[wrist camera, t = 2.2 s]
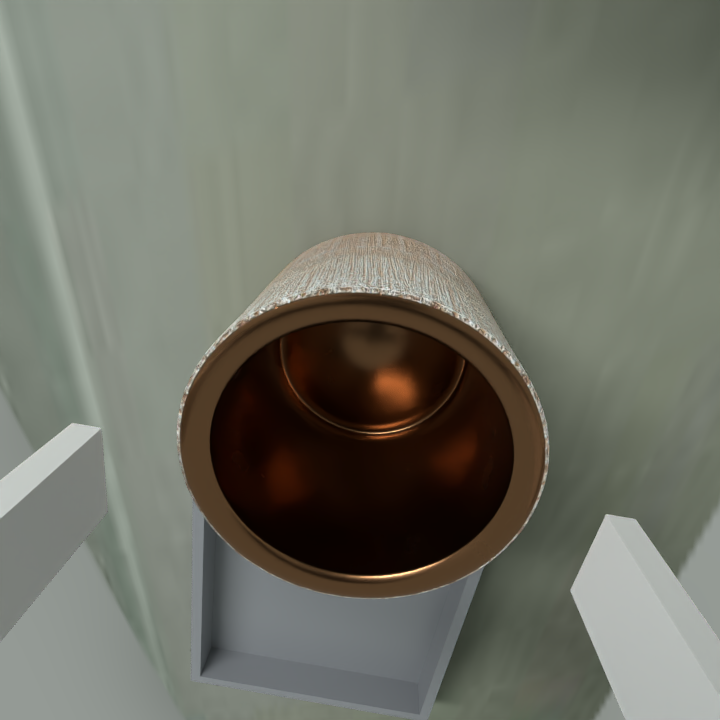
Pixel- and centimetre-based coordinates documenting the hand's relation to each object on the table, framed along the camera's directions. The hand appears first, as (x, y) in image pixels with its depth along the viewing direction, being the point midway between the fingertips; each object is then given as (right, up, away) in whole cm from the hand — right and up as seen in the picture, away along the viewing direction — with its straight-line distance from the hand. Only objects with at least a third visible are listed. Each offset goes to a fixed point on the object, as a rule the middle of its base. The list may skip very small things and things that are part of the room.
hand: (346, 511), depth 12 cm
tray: (-2, -10, +16) cm, 19 cm away
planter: (+1, +5, +10) cm, 11 cm away
